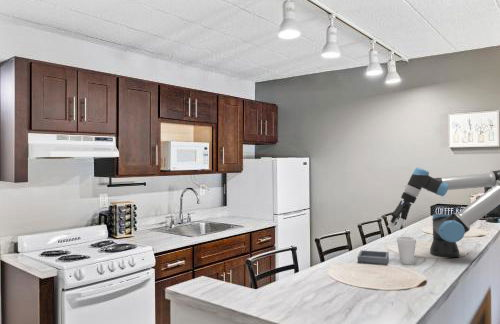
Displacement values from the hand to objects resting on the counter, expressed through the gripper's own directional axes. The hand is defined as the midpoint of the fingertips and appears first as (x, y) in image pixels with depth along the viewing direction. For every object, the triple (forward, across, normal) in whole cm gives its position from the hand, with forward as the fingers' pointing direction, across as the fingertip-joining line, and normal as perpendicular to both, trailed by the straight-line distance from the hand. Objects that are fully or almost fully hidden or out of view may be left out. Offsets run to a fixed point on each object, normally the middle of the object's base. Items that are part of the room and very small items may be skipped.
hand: (393, 228), depth 217 cm
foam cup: (+13, +4, +15) cm, 20 cm away
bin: (+20, +9, +1) cm, 22 cm away
